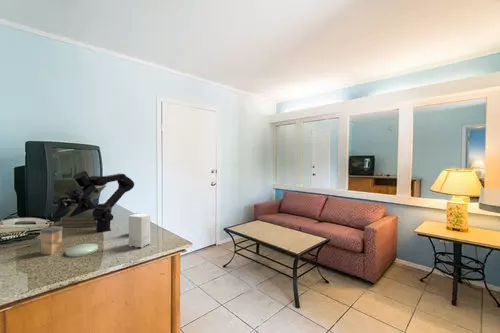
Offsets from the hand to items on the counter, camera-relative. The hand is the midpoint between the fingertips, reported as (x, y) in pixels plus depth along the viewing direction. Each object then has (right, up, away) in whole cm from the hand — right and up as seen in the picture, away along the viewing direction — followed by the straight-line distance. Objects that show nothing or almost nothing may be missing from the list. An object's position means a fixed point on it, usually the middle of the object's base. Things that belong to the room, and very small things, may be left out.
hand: (62, 215), depth 113 cm
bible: (-18, -14, +42) cm, 47 cm away
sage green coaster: (+14, -15, -6) cm, 22 cm away
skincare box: (+36, -16, +4) cm, 39 cm away
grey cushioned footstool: (+2, -15, -8) cm, 17 cm away
